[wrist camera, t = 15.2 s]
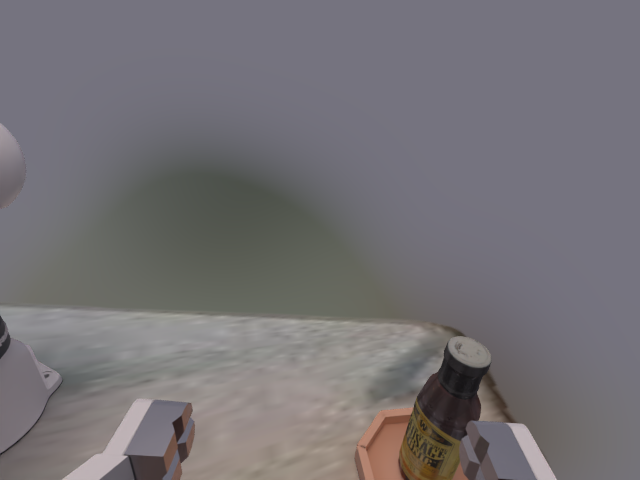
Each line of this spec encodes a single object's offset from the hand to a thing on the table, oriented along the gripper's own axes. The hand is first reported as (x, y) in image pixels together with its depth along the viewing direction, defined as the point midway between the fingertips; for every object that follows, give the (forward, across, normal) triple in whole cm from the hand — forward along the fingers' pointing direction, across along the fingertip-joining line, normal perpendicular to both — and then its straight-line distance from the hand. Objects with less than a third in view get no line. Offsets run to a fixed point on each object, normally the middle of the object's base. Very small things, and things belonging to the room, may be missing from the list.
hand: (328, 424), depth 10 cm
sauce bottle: (+19, -14, +33) cm, 40 cm away
